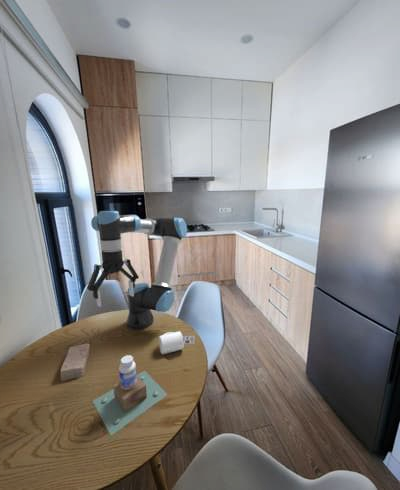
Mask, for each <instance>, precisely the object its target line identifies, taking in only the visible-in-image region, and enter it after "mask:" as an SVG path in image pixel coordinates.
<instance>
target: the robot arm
mask: <svg viewBox="0 0 400 490" xmlns="http://www.w3.org/2000/svg"><path fill="white" fill-rule="evenodd" d="M90 225H91V227H92V229H93V230H94V231H96V232H99V238H100V239H99V240H100V249H101V259H102V262H101V263H102V264H97V263H95V264H93V272H92V274H91V276H90V280H89V281H88V284H87V287H86V289H87V290H88V291H90V292H92V294H93V295H92V296H93V299H95V300H96V305H97V306H98V307H99V308H101V307H102V300H101V299H102V298H101V297H102V296H101V290H100V289H99V288H100V287H101V286H102V284H103V283H104V281H105V280H106V278H107V277H108V276H109V275H113V274H116V273H119V272H121V273H122V274H123V275H124V276H125V277H126V278H128V282H127V283H128V288H127V302H128V315H127V319H126V327H127V328H128V329H131V330H144V329H146V328H148V327H151V326H152V325H153V323H154V320H155V319H154V315H153V313H152V311H154V312H155V311H156V312H162V313H165V312H168V311H169V310H171V308H172V306H173V304H174V301H175V293H174V291H173V286H172V285H171V281H172V276H173V273H174V272H173V270H174V267H175V261H176V255H177V252H178V251H177V250H178V246H179V244H180V243H182V239H184V238H186V236H187V233H188V226H187V222H186V221H185V220H184V219H183V218H182V217H155V218H149V217H148V218H145V219H142V218H140V217H139V216H138V215H137V214H120V212H119V211H118V210H101V211H99V212H98V214H96V215H94V216H93V217H92V218H91V222H90ZM126 233H139V234H140V233H141V234H142V233H143V234H144V235H148V236H149V235H150V236H156V237H159V238H160V237H161V239H162V241H163V243H162V246H161V252H160V256H159V261H158V265H157V270H156V275H155V279H154V282H153V283H151V285H149V283H147V282H138V283H136V281H137V280H138V279H139V275H138V273H137V271H136V270H135V269H134V267H133V265H132V264H131V263H132V262H131V259H128V258H125V259H123V251H122V235H121V234H126ZM123 265H125V266H126V267H127V269H128V270H129V272H130V273H129V272H128V271H126V270H125V268H123ZM102 269H103V270H102ZM101 270H102V271H101ZM100 271H101V274H100ZM99 274H100V276H99Z"/></svg>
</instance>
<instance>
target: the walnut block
mask: <svg viewBox="0 0 400 490" xmlns="http://www.w3.org/2000/svg"><path fill="white" fill-rule="evenodd" d="M137 375H138V374H136V380H137V382H136V385H135V386H134V387H133V388H131V389H128V390H124V389H122V388H121V385H120V381H118V382H116V383H115V384H113V389H114V396H115V399H116V400H117V402H118V404H119V405H120V407H121V408H122V410H123V411H124V413H125V412H127V411H128V410H130V409H131V408H133V407H134V406H136V405H137V404H139V403H140V402H141V401H143V400H144V399H146V398H147V394H146V385H145V384H144V383H143V381H142V380H141V379H140V378H139V377H138V376H137Z"/></svg>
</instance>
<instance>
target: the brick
mask: <svg viewBox="0 0 400 490" xmlns="http://www.w3.org/2000/svg"><path fill="white" fill-rule="evenodd" d="M90 347H91V346H90V343H84V344H83V343H82V344H78V345H76V346H75V345H74V346H70V347H69V348H68V350H67V351H68V352H67V354H66V357H65V359H64V361H63V363H62V365H61V368H60V371H59V372H60V380H61V381H62V382H63V381H68V380H73V379H79V378H82V377H84V374H85V370H86V367H87V363H88V360H89V355H90V352H91V348H90Z"/></svg>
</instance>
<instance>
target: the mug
mask: <svg viewBox="0 0 400 490" xmlns="http://www.w3.org/2000/svg"><path fill="white" fill-rule="evenodd" d="M158 343H159V344H158V345H159V350H160V353H161V355H166V354H171V353H173V352H177V351H180V350H184V347H185V346H184V344H185V342H184V338H183V335H182V331H175V332H173V331H168V332H166V333H164V334H162V335H159V336H158Z"/></svg>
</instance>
